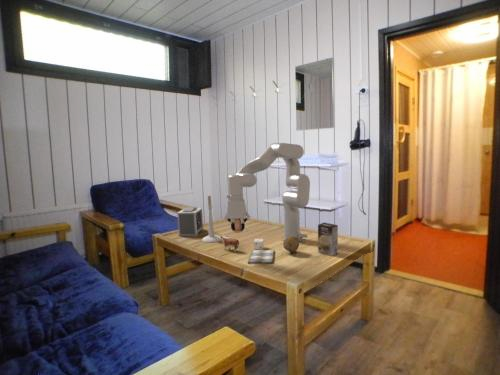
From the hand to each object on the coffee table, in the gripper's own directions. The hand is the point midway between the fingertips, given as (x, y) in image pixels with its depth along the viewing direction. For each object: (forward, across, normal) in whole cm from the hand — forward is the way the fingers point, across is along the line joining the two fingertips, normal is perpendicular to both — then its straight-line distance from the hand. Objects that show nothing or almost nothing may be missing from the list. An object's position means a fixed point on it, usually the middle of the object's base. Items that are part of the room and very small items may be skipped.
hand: (238, 229), depth 169 cm
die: (+15, +10, +13) cm, 22 cm away
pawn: (+1, 0, 0) cm, 1 cm away
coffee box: (+16, +49, +5) cm, 51 cm away
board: (+15, +13, -2) cm, 20 cm away
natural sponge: (+15, +29, +5) cm, 33 cm away
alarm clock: (+15, -43, +48) cm, 66 cm away
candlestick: (+15, -23, +30) cm, 41 cm away
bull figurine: (+15, -7, +10) cm, 19 cm away
